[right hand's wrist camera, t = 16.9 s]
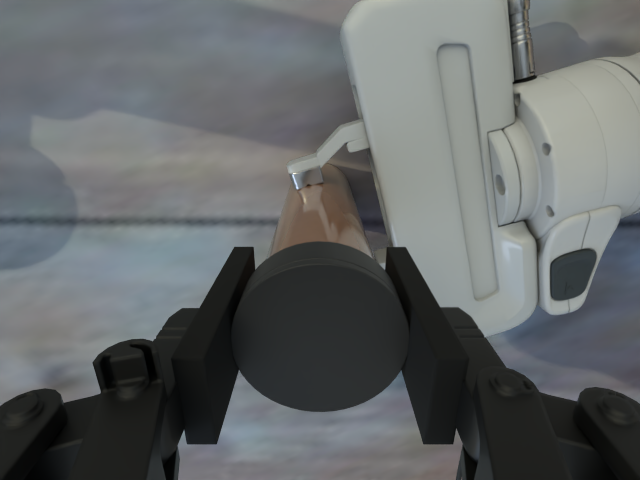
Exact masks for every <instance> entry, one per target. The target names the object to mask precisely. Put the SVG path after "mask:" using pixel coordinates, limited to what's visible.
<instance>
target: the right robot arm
mask: <svg viewBox="0 0 640 480" xmlns="http://www.w3.org/2000/svg"><path fill="white" fill-rule="evenodd" d="M254 271H255V260H254V247H234V249H233V250H232V252H231V254H230V256H229V257H228V259H227V261H226V263H225V264H224V266H223V268H222V270H221V271H220V273H219V275H218V277H217V278H216V280H215V282H214V284H213V285H212V287H211V289H210V291H209V292H208V294H207V296H206V298H205V299H204V301H203V303H202V305H201V306H200V308H182V309H180V310H179V311H178V312H176V313H175V314H173V315H172V316H171V317H169V319H168V320H167V322H166V323H165V325H164V326H163V328H162V330H160V332H159V333H158V335H157V336H156V339H154V341H153V342H152V341H150V340H146V339H131V340H127V341H123V342H119V343H117V344H115V345H113V346H111V347H109V348H107V349H106V350H104V351H103V352H102V353H100V354H99V355H98V356H97V357H96V359H95V360H94V361H93V366H94V369H95V373H96V376H97V380H98V383H99V386H100V390H101V394H98V395H95V396H91V397H87V398H83V399H79V400H74V401H70V402H66V403H63V400H62V397H61V394H59V393H58V392H57V391H56V390H52V389H39V390H32V391H30V392H27V393H24V394H21V395H18V396H16V397H15V398H13V399H11V400H9V401H7V402H5V403H4V404H3V405H1V406H0V480H178V473H179V462H180V457H179V451H178V446H177V445H178V443H179V440H180V438H181V435H182V433H183V431H185V436H186V441H187V444H217V441H218V438H219V435H220V431H221V428H222V425H223V421H224V418H225V415H226V411H227V408H228V405H229V401H230V398H231V394H232V391H233V388H234V384H235V381H236V378H237V374H238V371H239V368H238V367H237V365H236V362H235V360H234V357H233V351H232V342H231V325H232V321H233V317H234V314H235V312H236V309H237V307H238V304H239V302H240V299H241V297H242V294H243V292H244V289H245V287H246V285H247V282H248V280H249V279H250V277H251V275H252V274H253V273H254ZM385 271H386V272H387V274H388V275H389V277H390V278H391V280H392V282H393V284H394V286H395V289H396V291H397V294H398V296H399V299H400V301H401V304H402V306H403V309H404V311H405V314H406V317H407V320H408V324H409V330H410V335H409V345H408V353H407V357H406V361H405V363H404V365H403V367H402V369H401V370H402V374H403V377H404V380H405V384H406V387H407V390H408V394H409V397H410V400H411V404H412V407H413V411H414V414H415V417H416V421H417V424H418V427H419V431H420V434H421V437H422V441H423V444H453V442H454V437H455V432H456V428H457V431H458V433H459V436H460V438H461V440H462V443H463V446H462V451H461V456H460V461H459V465H458V470H457V476H456V480H461V477H462V480H640V404H639V403H638V402H636V401H635V400H633V399H631V398H629V397H627V396H625V395H624V394H621V393H618V392H615V391H613V390H610V389H605V388H598V387H592V388H586V389H584V390H583V391H582V392H581V393H580V395H579V398H578V401H572V400H568V399H564V398H559V397H555V396H551V395H547V394H544V393H540V392H539V391H538V389H537V388H536V386H535V385H534V383H533V382H532V381H530V380H529V379H528V378H527V377H526V376H524V375H522V374H521V373H519V372H517V371H515V370H512V369H509V368H506V366H505V365H504V363H503V362H502V361H501V359H500V358H499V356H498V355H497V353H496V352H495V350H494V349H493V348H492V346H491V345H490V343H489V342H488V340H487V339H486V338H484V334H483V333H482V332H481V330H480V329H478V326H477V324H476V323H475V321H474V320H473V318H472V317H471V316H470V315H469V314H467V313H466V312H464V311H463V310H462V309H460V308H459V307H440V306H439V304H438V302H437V301H436V299H435V297H434V295H433V294H432V292H431V290H430V288H429V287H428V285H427V283H426V281H425V280H424V278H423V276H422V274H421V273H420V271H419V269H418V267H417V266H416V264H415V262H414V261H413V259H412V257H411V255H410V254H409V252H408V250H407V248H406V247H387V250H386V263H385Z"/></svg>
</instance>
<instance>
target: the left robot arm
mask: <svg viewBox="0 0 640 480" xmlns="http://www.w3.org/2000/svg"><path fill="white" fill-rule="evenodd" d="M529 9H530V0H361V1H359V2H358V3H356V4H355V5H354V6H353V7H352V8H351V10H350V11H349V13H348V14H347V16H346V18H345V20H344V22H343V24H342V27H341V30H340V41H341V45H342V50H343V54H344V58H345V62H346V66H347V71H348V75H349V79H350V83H351V87H352V92H353V96H354V100H355V104H356V108H357V112H358V117H359V120H355V121H352V122H349V123H346V124H342V125H340V126H339V127H338V128H337V129H336V130H335V131H334V132H333V133H332V134H331V135H330V136H329V138H328V139H327V140H326V141H325V142H324V143H323V144H322V145H321V146H320V147H319V148H318V149H317V153H313V154H310V155H307V156H303V157H300V158H297V159H294V160H292V161H289V162H288V163H287V169H288V172H289V175H290V178H291V181H292V184H293V186H294V189H295V190H298V189H302V188H305V187H306V186H307V185H308V184H310V185H316V184H320V183H323V182H324V179H323V178H324V176H323V172H322V167H323V166H324V165H325V164H326V162H327V161H328V160H329V159H330V158H331V157H332V156H333V155H334V154H335V153H336V152H337V151H338V150H339V149H340V148H341V147H342V146H343V145H344V144H345V145H346V148H347V149H348V151H349V152H350V153H352V152H356V151H359V150H363V149H366V150H367V154H368V158H369V163H370V167H371V171H372V175H373V179H374V183H375V188H376V192H377V196H378V200H379V204H380V208H381V213H382V217H383V221H384V225H385V229H386V234H387V238H388V242H389V246H390V247H406V248H407V250H408V252H409V254H410V255H411V257H412V259H413V261H414V262H415V264H416V266H417V267H418V269H419V271H420V273H421V274H422V276H423V278H424V280H425V281H426V283H427V285H428V287H429V288H430V290H431V292H432V294H433V295H434V297H435V299H436V301H437V302H438V304H439V306H440V307H459V308H460V309H462V310H463V311H464V312H466V313H467V314H469V315H470V316H471V317H472V318H473V320H474V321H475V323H476V324H477V326H478V329H480V330H481V332H482V333H483V334H484V338H485V337H488V336H491V335H495V334H498V333H501V332H504V331H507V330H510V329H512V328H514V327H516V326H518V325H520V324H522V323H523V322H525V321H526V320H527V319H528V318H529V317H530V316H531V315H532V314H533V312H534V310H535V308H536V306H537V305H538V306H539V307H541V308H542V309H543V310H545V311H546V312H547V313H549V314H551V315H561V314H567V313H570V312H573V311H575V310H577V309H579V308H580V307H581V306H582V305H583V303H584V301H585V299H586V296H587V294H588V291H589V288H590V285H591V282H592V279H593V277H594V274H595V271H596V269H597V266H598V264H599V261H600V259H601V257H602V254H603V252H604V250H605V248H606V246H607V244H608V242H609V240H610V238H611V237H612V235H613V233H614V231H615V230H616V228H617V226H618V224H619V221H620V219H621V218H625V217H628V216H630V215H633V214H636V213H640V52H638V53H636V54H634V55H631V56H626V57H602V58H596V59H591V60H588V61H585V62H581V63H578V64H574V65H571V66H568V67H565V68H561V69H558V70H555V71H551V72H548V73H545V74H541V75H538V76H535V69H534V55H533V44H532V38H531V33H530V27H529V21H528V20H529V15H528V10H529ZM386 250H387V247H386V248H382V249H379V250H375V251H374V252H373V253H374V257H375V259H374V260H375V261H376V262H378V263H379V264H380V266H381V267H382V268H383V269H384V270H385V263H386Z"/></svg>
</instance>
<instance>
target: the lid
mask: <svg viewBox="0 0 640 480" xmlns="http://www.w3.org/2000/svg"><path fill="white" fill-rule="evenodd" d="M409 335H410V330H409V324H408V320H407V317H406V314H405V311H404V309H403V306H402V304H401V301H400V299H399V296H398V294H397V291H396V289H395V286H394V284H393V282H392V280H391V278H390V277H389V275H388V274H387V272H386V271H385V270H384V269H383V268H382V267H381V266H380V264H379V263H378V262H376V261H375V260H374V259H373V258H371V257H370V256H369V255H367V254H365V253H363V252H362V251H360V250H358V249H355V248H353V247H350V246H347V245H344V244H340V243H334V242H323V241H315V242H305V243H301V244H296V245H293V246H290V247H287V248H285V249H283V250H281V251H279V252H277V253H275V254H273V255H272V256H270V257H269V258H267V259H266V260H265V261H264V262H263V263H262V264H261V265H259V267H258V268H257V269H256V270H255V271H254V273H253V274H252V275H251V277H250V279H249V280H248V282H247V285H246V287H245V289H244V292H243V294H242V297H241V299H240V302H239V304H238V307H237V309H236V312H235V314H234V317H233V321H232V325H231V342H232V351H233V357H234V360H235V362H236V365H237V367H238V368H239V370H240V372H241V373H242V375H243V376H244V377H245V379H246V380H247V381H248V382H249V383H250V384H251V385H252V386H253V387H254V388H255V389H256V390H257V391H259V392H260V393H261V394H262V395H264V396H266V397H267V398H269V399H271V400H272V401H275V402H277V403H279V404H281V405H284V406H287V407H290V408H294V409H298V410H304V411H312V412H327V411H336V410H342V409H346V408H350V407H354V406H356V405H359V404H361V403H364V402H366V401H368V400H369V399H371V398H373V397H375V396H376V395H378V394H379V393H381V392H382V391H383V390H384V389H385V388H386V387H388V386H389V385H390V384H391V382H392V381H393V380H394V379H395V378H396V377H397V375H398V374H399V372H400V371H401V369H402V367H403V365H404V363H405V361H406V357H407V353H408V345H409Z"/></svg>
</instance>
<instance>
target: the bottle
mask: <svg viewBox="0 0 640 480" xmlns="http://www.w3.org/2000/svg"><path fill="white" fill-rule="evenodd" d="M322 172H323V176H324V178H323V179H324V182H323V183H320V184H316V185H310V184H308V185H307V186H306V187H305V188H302V189H298V190H295V189H294V186H293V184H292V183H291V186H290V189H289V192H288V195H287V198H286V201H285V204H284V207H283V210H282V213H281V216H280V219H279V221H278V224H277V227H276V230H275V233H274V236H273V239H272V242H271V245H270V248H269V251H268V254H267V257H266V259H267V258H269V257H270V256H272V255H273V254H275V253H277V252H279V251H281V250H283V249H285V248H287V247H290V246H293V245H296V244H301V243H305V242H315V241H323V242H334V243H340V244H344V245H347V246H350V247H353V248H355V249H358V250H360V251H362V252H363V253H365V254H367V255H369V256H370V257H371V258H373V259H374V257H373V254H372V251H371V248H370V245H369V242H368V239H367V236H366V233H365V230H364V227H363V224H362V221H361V218H360V215H359V212H358V209H357V206H356V203H355V200H354V197H353V194H352V191H351V188H350V185H349V183H348V180H347V178H346V176H345V175H344V174H343V172H342V171H341V170H339V169H338V168H337V167H335V166H333V165H331V164H328V163H326V164H325V165H324V166H323V167H322Z"/></svg>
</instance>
